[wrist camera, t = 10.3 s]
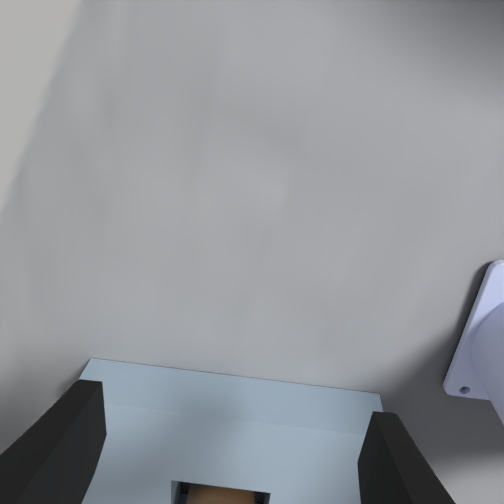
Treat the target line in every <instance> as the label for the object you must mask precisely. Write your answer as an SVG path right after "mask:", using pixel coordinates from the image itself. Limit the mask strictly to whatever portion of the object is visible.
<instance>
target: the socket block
mask: <svg viewBox="0 0 504 504" xmlns="http://www.w3.org/2000/svg"><path fill="white" fill-rule="evenodd" d="M79 379H83V380H92V381H102V383H103V395H104V408H105V420H106V432H107V436H106V439H105V442H104V446H103V449H102V452H101V456H100V459H99V462H98V465H97V468H96V471H95V474H94V476H93V479H92V481H91V483H90V486H89V488H88V490H87V492H86V495H85V497H84V499H83V502H82V504H186V501H187V497H188V494H184V493H181V482H189V483H197V484H204V485H212V486H220V487H228V488H235V489H243V490H251V491H259V492H265V496H264V502H263V504H361V500H360V490H359V478H358V466H357V462H358V458H359V455H360V452H361V448H362V445H363V442H364V438H365V435H366V432H367V429H368V425H369V422H370V419H371V415H372V412H373V411H377V412H383V408H382V404H381V400H380V395H379V394H378V393H369V392H361V391H353V390H345V389H337V388H329V387H321V386H313V385H305V384H296V383H288V382H280V381H272V380H264V379H256V378H248V377H240V376H232V375H223V374H215V373H207V372H199V371H191V370H183V369H175V368H167V367H158V366H150V365H142V364H134V363H126V362H118V361H110V360H102V359H94V358H91V359H90V360H89V362H88V364H87V366H86V367H85V369H84V371H83V373H82V374H81V376H80V378H79ZM255 504H261V503H255Z"/></svg>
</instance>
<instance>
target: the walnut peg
mask: <svg viewBox="0 0 504 504" xmlns="http://www.w3.org/2000/svg"><path fill="white" fill-rule="evenodd" d="M255 497H256V491H251V490H243V489H235V488H228V487H220V486H212V485H204V484H197V483H190V487H189V492H188V497H187V501H186V504H255Z"/></svg>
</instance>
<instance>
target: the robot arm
mask: <svg viewBox="0 0 504 504" xmlns="http://www.w3.org/2000/svg"><path fill="white" fill-rule="evenodd" d="M443 387H444V390H445V392H446V393H447V394H448V395H451V396H459V397H467V398H475V399H484V400H491V402H492V404H493V406H494V408H495V410H496V412H497V414H498V416H499V418H500V420H501V422H502V424H503V426H504V260H497V261H495V262H493V263H492V264H490V265H489V267H488V269H487V271H486V274H485V277H484V279H483V282H482V284H481V287H480V290H479V292H478V295H477V297H476V300H475V303H474V305H473V308H472V310H471V313H470V315H469V318H468V321H467V323H466V326H465V328H464V331H463V334H462V336H461V339H460V341H459V344H458V347H457V349H456V352H455V354H454V357H453V360H452V362H451V365H450V367H449V370H448V372H447V375H446V378H445V380H444V383H443ZM462 387H465V388H463V389H461V388H462ZM106 436H107V432H106V420H105V408H104V395H103V383H102V381H92V380H83V379H79V380H78V381H76V382H75V383H74V384H73V385H72V386H71V387H70V388H69V389H68V390H67V391H66V392H65V394H64V395H63V396H62V397H61V398H60V399H59V400H58V401H57V402H56V403H55V404H54V405H53V406H52V407H51V408H50V409H49V410H48V411H47V412H46V413H45V414H44V415H43V416H42V417H41V418H40V419H39V420H38V421H37V422H36V423H34V424H33V425H32V426H31V427H30V428H29V429H28V430H27V431H26V432H25V433H24V434H23V435H22V436H21V437H20V438H19V439H18V440H16V441H15V442H14V443H13V444H12V445H11V446H10V447H9V448H8V449H7V450H5V451H4V452H3V453H2V454H1V455H0V504H82V502H83V499H84V497H85V495H86V492H87V490H88V488H89V486H90V483H91V481H92V479H93V476H94V474H95V471H96V468H97V465H98V462H99V459H100V456H101V452H102V449H103V446H104V442H105V439H106ZM357 466H358V478H359V490H360V500H361V504H456V503H455V502H454V501H453V499H452V498H451V497H450V495H449V494H448V492H447V491H446V489H445V488H444V486H443V485H442V484H441V482H440V481H439V479H438V478H437V476H436V475H435V473H434V472H433V470H432V469H431V467H430V466H429V464H428V463H427V461H426V460H425V458H424V457H423V455H422V454H421V452H420V451H419V449H418V447H417V446H416V444H415V443H414V441H413V439H412V438H411V436H410V435H409V433H408V431H407V430H406V428H405V427H404V425H403V423H402V422H401V420H400V418H399V417H398V416H397V414H395V413H386V412H377V411H373V412H372V415H371V419H370V422H369V425H368V429H367V432H366V435H365V438H364V442H363V445H362V448H361V452H360V455H359V458H358V462H357Z"/></svg>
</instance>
